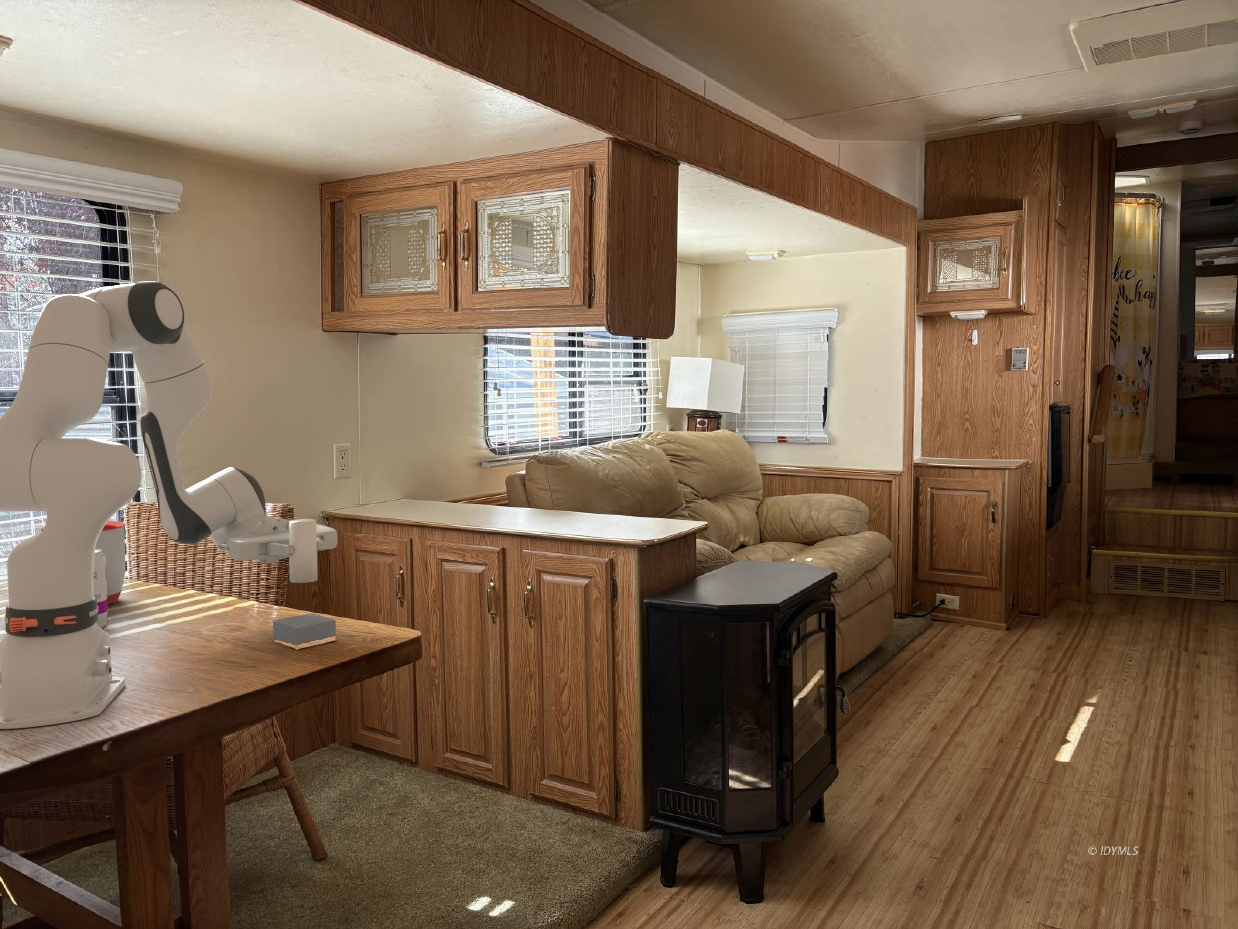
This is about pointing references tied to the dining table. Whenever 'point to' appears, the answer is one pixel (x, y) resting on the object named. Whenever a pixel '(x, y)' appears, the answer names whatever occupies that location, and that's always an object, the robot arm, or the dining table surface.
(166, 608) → the dining table surface
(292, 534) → the white pillar candle
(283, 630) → the plinth
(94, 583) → the supplement can
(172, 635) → the dining table surface
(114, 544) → the citrus juicer
